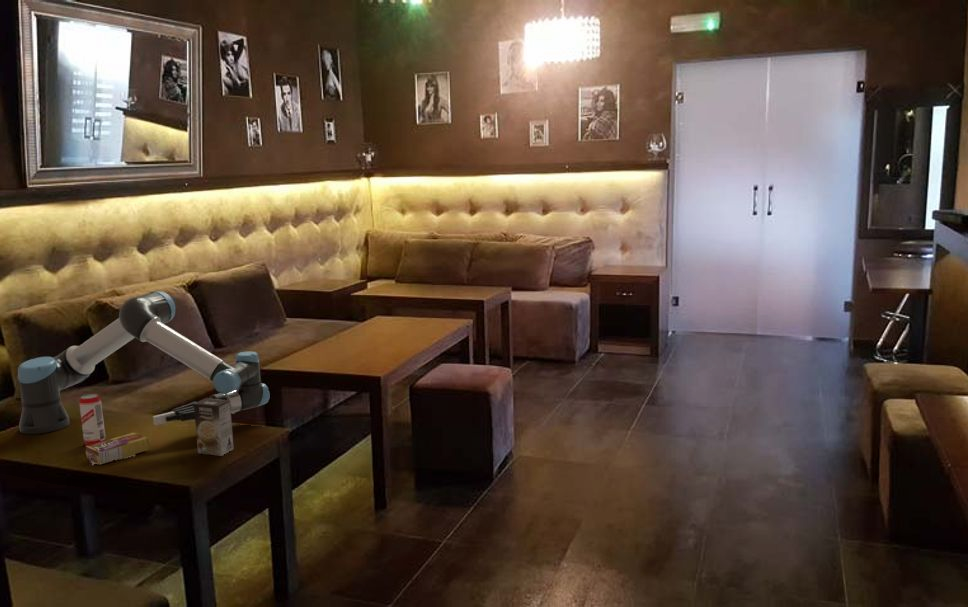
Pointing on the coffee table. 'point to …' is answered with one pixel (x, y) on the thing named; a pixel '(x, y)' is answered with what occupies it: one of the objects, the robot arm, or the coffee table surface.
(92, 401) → the beer can
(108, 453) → the candy box
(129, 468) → the coffee table surface
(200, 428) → the coffee box
